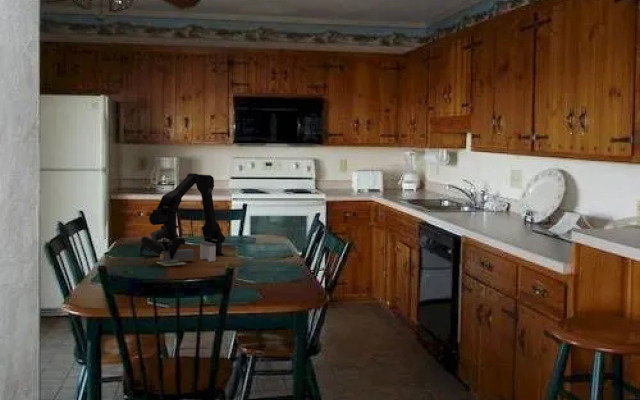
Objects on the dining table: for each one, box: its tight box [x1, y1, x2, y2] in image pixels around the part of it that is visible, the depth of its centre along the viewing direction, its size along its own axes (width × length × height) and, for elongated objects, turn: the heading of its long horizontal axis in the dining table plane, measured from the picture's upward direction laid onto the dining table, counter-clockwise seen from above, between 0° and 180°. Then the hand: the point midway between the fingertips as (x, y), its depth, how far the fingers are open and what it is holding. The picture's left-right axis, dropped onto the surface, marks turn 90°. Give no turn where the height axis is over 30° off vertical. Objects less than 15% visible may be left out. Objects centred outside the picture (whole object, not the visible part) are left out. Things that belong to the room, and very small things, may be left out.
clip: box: [199, 240, 217, 263], centre depth 326 cm, size 3×9×8 cm, turn 39°
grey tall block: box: [159, 248, 195, 261], centre depth 316 cm, size 15×4×4 cm, turn 129°
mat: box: [155, 260, 187, 267], centre depth 315 cm, size 10×9×1 cm
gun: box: [139, 236, 164, 257], centre depth 331 cm, size 3×16×10 cm, turn 79°
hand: (169, 257), depth 314 cm, fingers closed on grey tall block, 4 cm apart
